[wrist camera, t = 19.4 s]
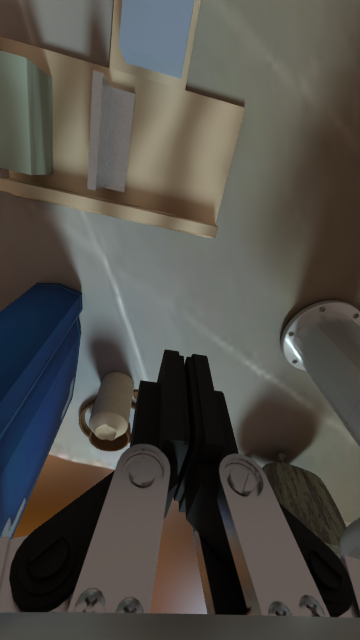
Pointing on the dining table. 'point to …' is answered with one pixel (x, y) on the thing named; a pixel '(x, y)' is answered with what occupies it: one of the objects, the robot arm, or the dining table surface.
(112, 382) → the candle
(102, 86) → the bookend
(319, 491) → the tabletop clock
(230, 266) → the dining table surface
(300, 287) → the dining table surface
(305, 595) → the robot arm
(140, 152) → the wooden platform
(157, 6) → the blue-grey rectangular block
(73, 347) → the blue volume
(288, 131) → the dining table surface
